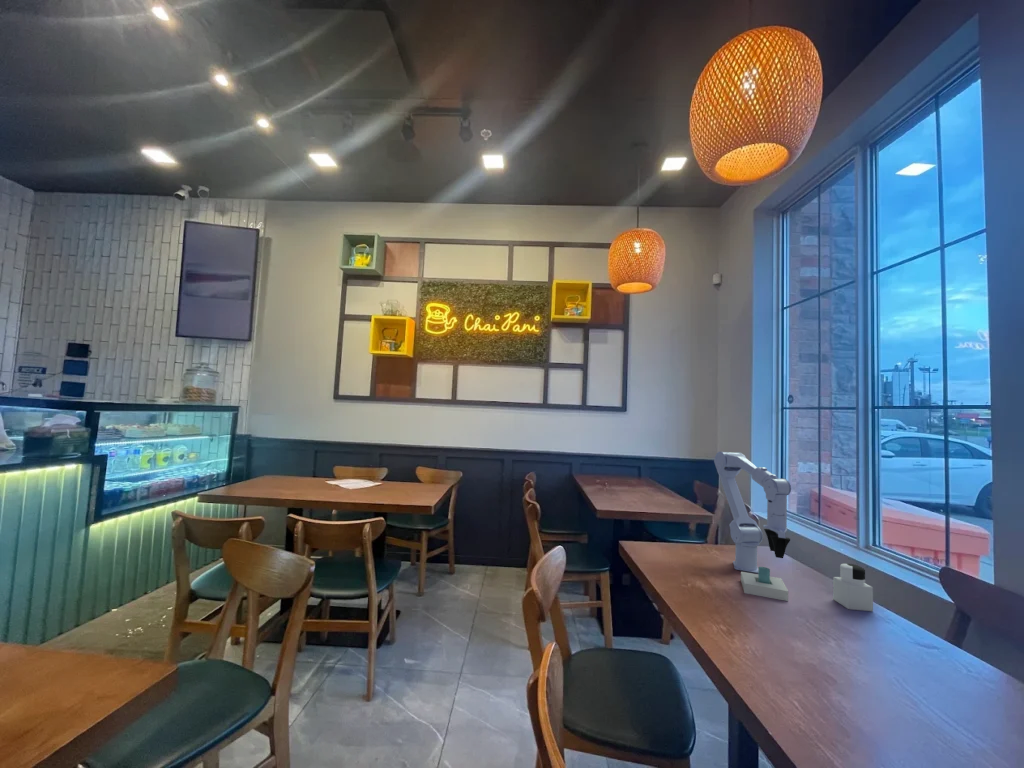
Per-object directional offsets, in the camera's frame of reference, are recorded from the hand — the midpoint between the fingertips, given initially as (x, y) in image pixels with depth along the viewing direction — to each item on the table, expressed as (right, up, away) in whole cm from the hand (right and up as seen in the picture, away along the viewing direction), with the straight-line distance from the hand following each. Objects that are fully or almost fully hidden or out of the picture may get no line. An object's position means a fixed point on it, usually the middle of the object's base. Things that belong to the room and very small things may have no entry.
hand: (776, 554), depth 148 cm
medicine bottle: (+14, -10, -15) cm, 23 cm away
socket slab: (-9, -9, -7) cm, 14 cm away
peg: (-8, -9, -7) cm, 14 cm away
